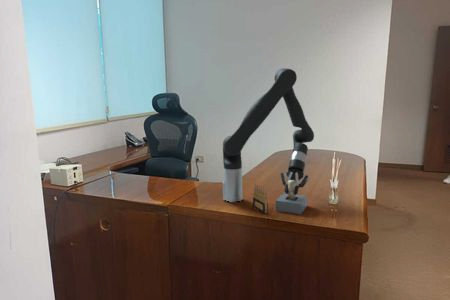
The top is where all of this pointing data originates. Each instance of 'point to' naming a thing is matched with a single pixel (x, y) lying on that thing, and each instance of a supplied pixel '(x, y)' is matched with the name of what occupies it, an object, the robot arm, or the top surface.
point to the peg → (291, 190)
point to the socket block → (291, 204)
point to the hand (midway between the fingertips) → (290, 193)
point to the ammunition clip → (260, 199)
